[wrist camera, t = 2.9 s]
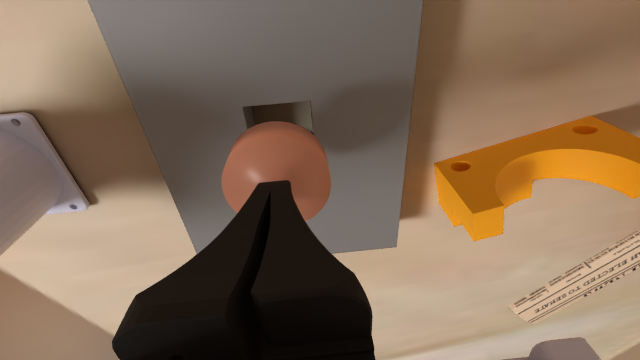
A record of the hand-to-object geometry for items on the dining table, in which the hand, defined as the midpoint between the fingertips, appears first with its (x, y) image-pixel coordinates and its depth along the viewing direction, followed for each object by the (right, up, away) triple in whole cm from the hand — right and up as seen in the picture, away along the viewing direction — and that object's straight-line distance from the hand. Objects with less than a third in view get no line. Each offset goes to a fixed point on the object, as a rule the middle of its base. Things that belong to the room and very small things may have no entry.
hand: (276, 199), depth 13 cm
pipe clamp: (+17, +3, +12) cm, 21 cm away
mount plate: (-1, +5, +8) cm, 10 cm away
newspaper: (+35, -8, +21) cm, 41 cm away
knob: (0, +3, +5) cm, 6 cm away
